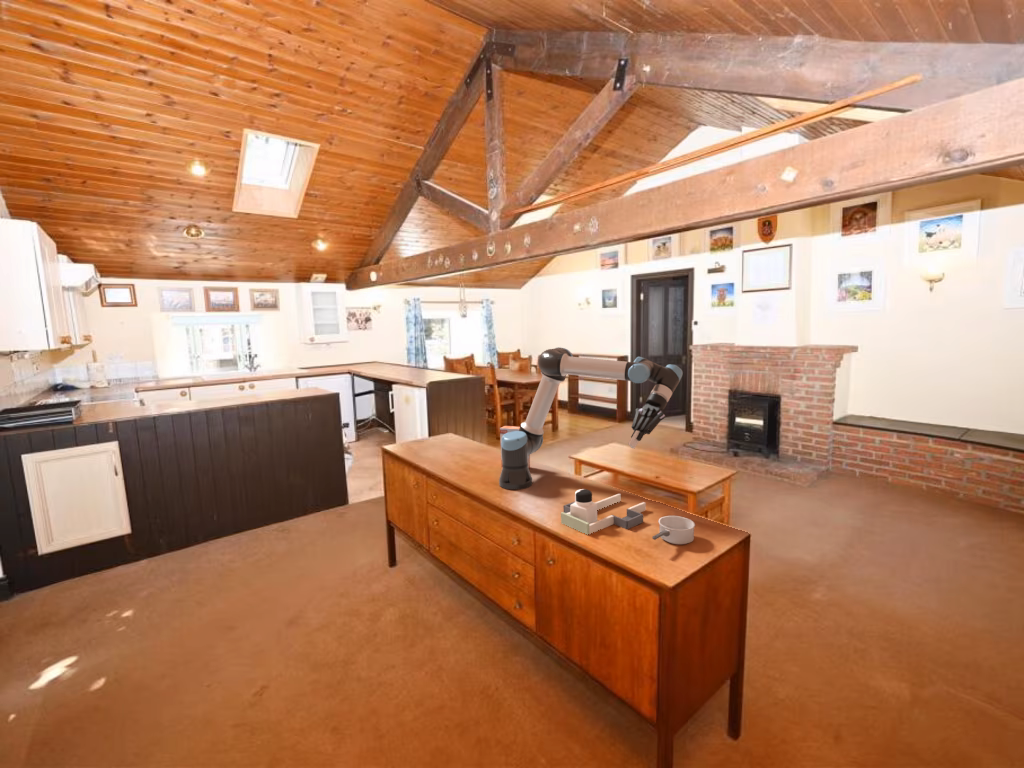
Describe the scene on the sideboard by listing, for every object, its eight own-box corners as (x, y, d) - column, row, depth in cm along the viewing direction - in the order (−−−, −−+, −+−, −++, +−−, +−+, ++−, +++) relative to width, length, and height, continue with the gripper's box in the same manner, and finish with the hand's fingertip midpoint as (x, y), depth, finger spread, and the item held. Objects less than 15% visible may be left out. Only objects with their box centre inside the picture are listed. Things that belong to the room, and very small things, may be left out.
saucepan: (637, 548, 146) (637, 531, 146) (668, 528, 160) (669, 512, 159) (671, 560, 138) (671, 543, 137) (701, 538, 151) (701, 522, 151)
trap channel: (607, 496, 190) (607, 489, 190) (659, 514, 171) (659, 507, 170) (551, 517, 172) (551, 509, 172) (602, 540, 152) (602, 531, 152)
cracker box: (530, 467, 235) (529, 426, 232) (525, 470, 229) (524, 429, 227) (506, 464, 241) (505, 425, 239) (500, 467, 236) (499, 427, 233)
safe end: (563, 522, 167) (562, 511, 167) (589, 534, 157) (589, 523, 156) (561, 523, 167) (560, 512, 166) (587, 535, 156) (587, 524, 156)
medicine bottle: (597, 522, 167) (597, 490, 165) (586, 528, 161) (586, 496, 160) (581, 517, 171) (580, 486, 170) (570, 523, 166) (569, 491, 165)
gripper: (676, 406, 180) (649, 455, 173) (649, 402, 191) (622, 448, 183) (668, 394, 177) (640, 444, 169) (641, 390, 187) (613, 437, 179)
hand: (631, 446), depth 176 cm, fingers closed
